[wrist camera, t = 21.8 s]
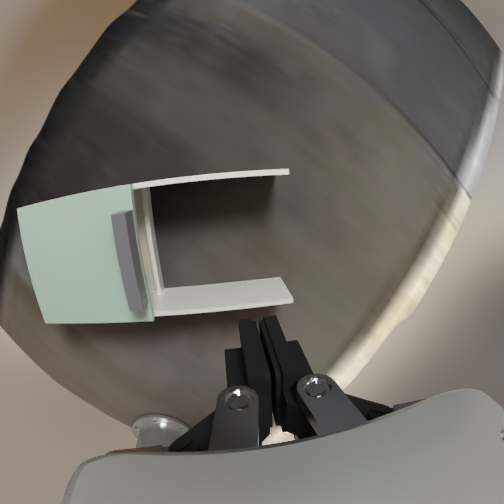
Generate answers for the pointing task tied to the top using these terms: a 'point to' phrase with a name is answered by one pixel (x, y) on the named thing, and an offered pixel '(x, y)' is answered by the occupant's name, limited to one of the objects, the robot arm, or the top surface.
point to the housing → (201, 295)
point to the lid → (87, 257)
